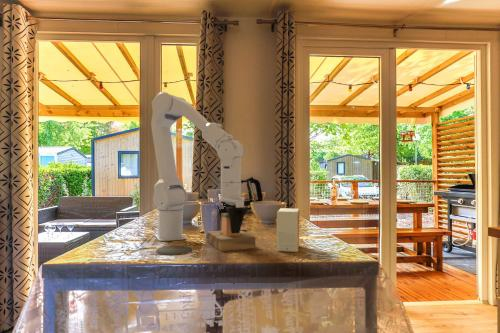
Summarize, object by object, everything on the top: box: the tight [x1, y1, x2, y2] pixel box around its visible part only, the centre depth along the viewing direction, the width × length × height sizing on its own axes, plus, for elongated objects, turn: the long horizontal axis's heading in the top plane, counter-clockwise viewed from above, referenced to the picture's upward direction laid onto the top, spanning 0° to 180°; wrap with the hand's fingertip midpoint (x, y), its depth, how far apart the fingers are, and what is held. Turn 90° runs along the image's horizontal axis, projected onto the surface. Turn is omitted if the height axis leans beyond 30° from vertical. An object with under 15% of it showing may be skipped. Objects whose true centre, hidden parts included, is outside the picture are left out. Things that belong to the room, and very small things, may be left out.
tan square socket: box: [206, 229, 256, 252], centre depth 95 cm, size 12×10×3 cm
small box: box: [276, 207, 300, 253], centre depth 91 cm, size 8×6×10 cm
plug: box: [221, 213, 240, 236], centre depth 95 cm, size 4×4×9 cm
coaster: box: [155, 244, 192, 256], centre depth 87 cm, size 9×9×1 cm
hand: (230, 230), depth 95 cm, fingers open, 7 cm apart
